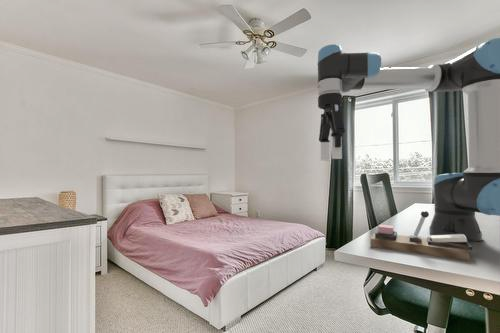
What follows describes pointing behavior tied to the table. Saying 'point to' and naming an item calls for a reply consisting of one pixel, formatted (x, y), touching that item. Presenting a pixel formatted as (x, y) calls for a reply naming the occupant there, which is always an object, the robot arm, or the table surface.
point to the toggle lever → (421, 222)
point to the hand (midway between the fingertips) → (330, 159)
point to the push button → (386, 229)
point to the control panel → (421, 245)
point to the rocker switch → (449, 238)
